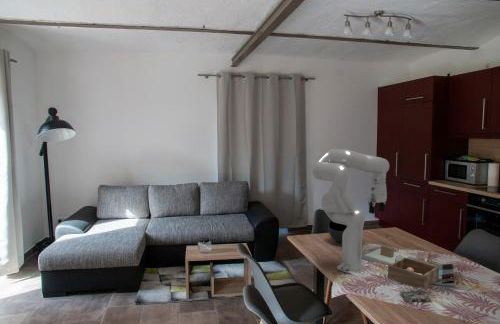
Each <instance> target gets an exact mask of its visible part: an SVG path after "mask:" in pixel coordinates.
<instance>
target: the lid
mask: <svg viewBox="0 0 500 324" xmlns="http://www.w3.org/2000/svg"><path fill="white" fill-rule="evenodd" d="M379 248H380V249H378V250H375V249H374V250H375V251H373V252H370V251H369V252H370V253H368V252H367V253H368V254H366V255H364V257H367V258H370V259H373V260H376V261H379V262H382V263H385V264H389V265H390V264H392V263H394V262H395V258H396V256H397V255H401V256H403V257H405V258H408V259H409V258H410V257H411V256H410V255H406V254H402V253H399V252H395V247H393V246H389V245H386V244H382V245H380V247H379Z"/></svg>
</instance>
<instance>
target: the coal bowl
mask: <svg viewBox="0 0 500 324" xmlns="http://www.w3.org/2000/svg"><path fill="white" fill-rule="evenodd" d="M346 228H347V225H343V224H339V223H335V222H333V221H332V220H331V219H330V222H329V223H328V226H327V229H328V231H327V232H328V234H329V236H330V237H331V239H333V241H335V242H336V243H338V244H341V245H342V235H343V232H344V230H345V229H346Z"/></svg>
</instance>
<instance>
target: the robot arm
mask: <svg viewBox="0 0 500 324" xmlns="http://www.w3.org/2000/svg"><path fill="white" fill-rule="evenodd" d="M348 169H351V170H355V171H360V172H361V171H362V172H365V173H370V174H371V176H370V187H369V188H370V189H369V195H368V196H369V197H367V203H368V213H369V214H373V215H374V214H375V213H376V206H375V205H376V203H377V204H378V203H379V204H378V211H379V212H383V213H384V212H385V210H386V203H387V198H388V196H387V195H388V192H387V183H386V182H387V181H386V179H387V172H388V171H389V170H390V163H389V161H388V160H387V159H386V158H383V157H379V156H376V155H375V156H374V155H370V154H365V153H360V152H357V151H354V150H350V149H342V148H341V149H340V148H338V149H337V148H331V149H329V150H328V151H326V152H325V153H324V154H323V155H322V156H320V158H319V159H318V160H317V161H316V162H315V163H314V165H313V167H312V175H313V177H314V179H316V180H318V181H324V182H326V181H327V182H332V184H331V186H329V188H328V191H327V192H325V193H324V194H323V195H322V197H321V208H322V210H323V211H324V212H325V214H326V215H327V217H328V218H329V219H330V221H331V220H332V221H333V222H335V223H339V224H343V225H347V228H346V229H345V230H344V232H343V235H342V244H341V252H342V253H341V263H339V264H338V265H337V266H336V268H337V269H338V270H339V271H341V272H344V273H346V274H351V275H352V274H353V273H362V272H364V271H365V266H364V265H363V264H362V261H363V259H362V255H363V231H364V230H363V229H364V224H365V220H366V214H365V212H364V210H362V209H361V208H358V207H355V202H354V200H353V198H352V197H351V195H350V193H349V192H348V190H347V183H348V182H347V181H348V178H349V171H348ZM385 213H386V212H385Z"/></svg>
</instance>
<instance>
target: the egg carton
mask: <svg viewBox="0 0 500 324" xmlns="http://www.w3.org/2000/svg"><path fill="white" fill-rule="evenodd" d="M399 293H400V294H399V295H400V296H401V297H403V298H404V300H403V302H404V303H405V304H409V305H412V304H413V301H415V302H421V301H424V302H430V300H431V299H432V296H431V295H429V294H427V291H426V289H425V290H424V289H423V288H416V287H415V289H409V290H408V289H405V290H399ZM418 295H422V296H423V297H422V296H420V297H418Z"/></svg>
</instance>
